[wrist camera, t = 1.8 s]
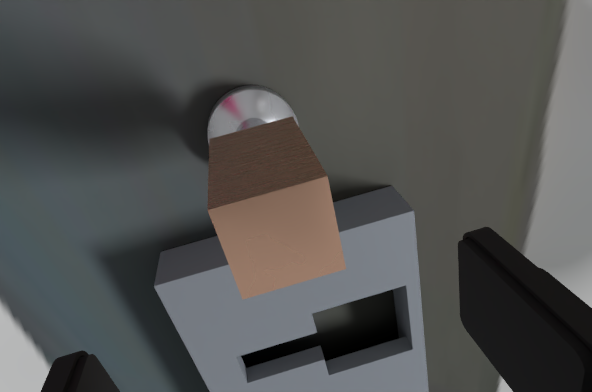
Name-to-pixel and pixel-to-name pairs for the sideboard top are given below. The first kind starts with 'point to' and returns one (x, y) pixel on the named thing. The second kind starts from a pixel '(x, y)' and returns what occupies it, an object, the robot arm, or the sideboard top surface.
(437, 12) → the sideboard top surface
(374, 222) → the keyhole board
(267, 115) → the keyhole peg
